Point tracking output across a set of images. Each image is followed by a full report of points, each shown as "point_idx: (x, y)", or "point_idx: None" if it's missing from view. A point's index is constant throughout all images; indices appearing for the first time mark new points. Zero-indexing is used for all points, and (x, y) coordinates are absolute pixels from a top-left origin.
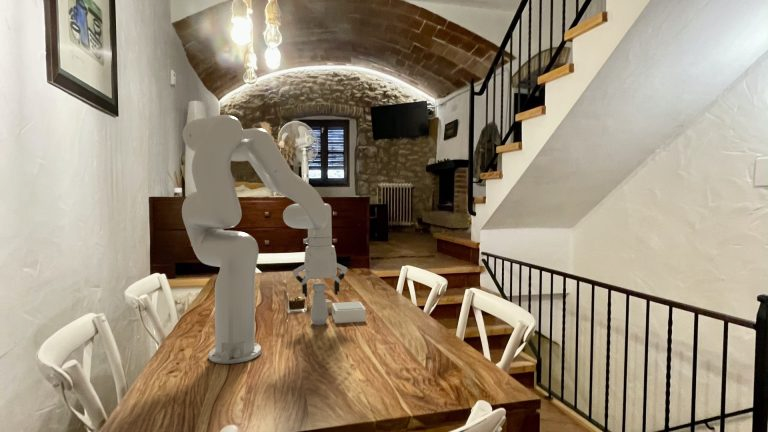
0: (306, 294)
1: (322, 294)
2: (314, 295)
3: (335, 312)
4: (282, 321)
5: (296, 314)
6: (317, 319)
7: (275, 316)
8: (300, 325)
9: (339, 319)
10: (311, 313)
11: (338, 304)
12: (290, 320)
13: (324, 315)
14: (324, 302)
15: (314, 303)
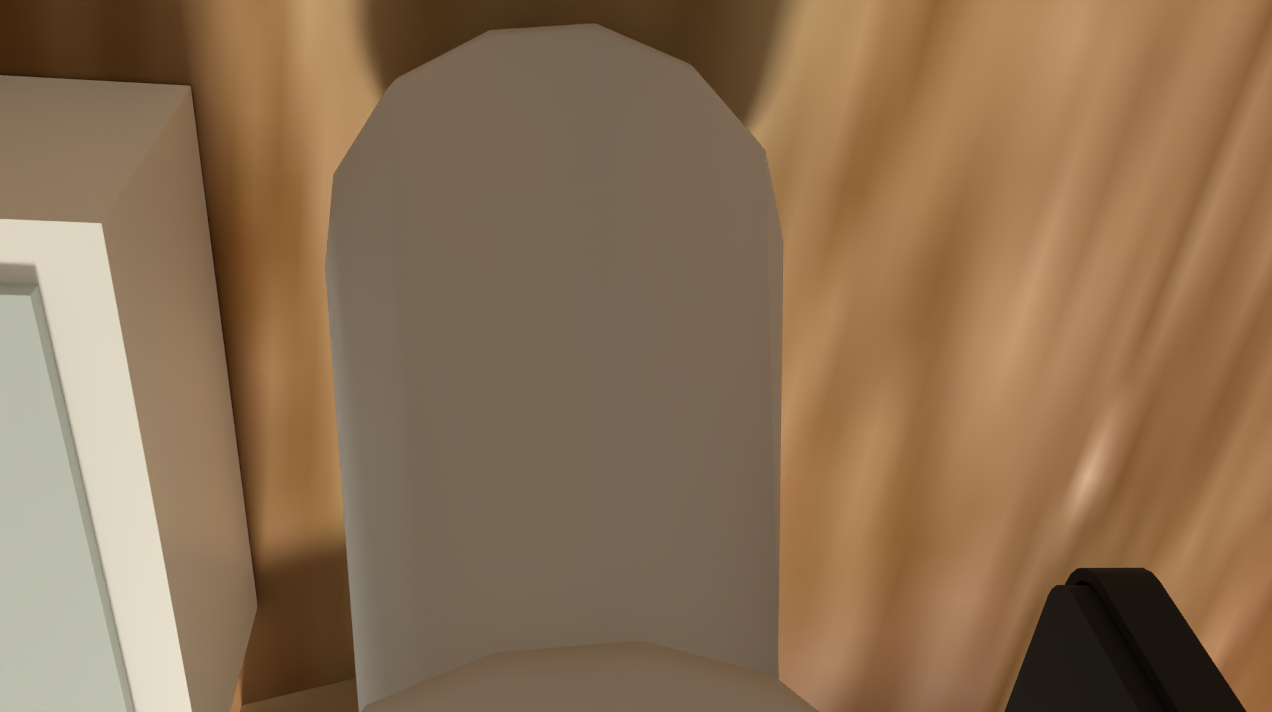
0: (1126, 629)
1: (461, 579)
2: (775, 618)
3: (109, 204)
4: (1192, 434)
5: (859, 703)
6: (635, 41)
7: None
8: (964, 133)
9: (58, 114)
10: (775, 250)
11: (35, 669)
12: (1045, 456)
13: (441, 90)
14: (404, 354)
15: (748, 372)
